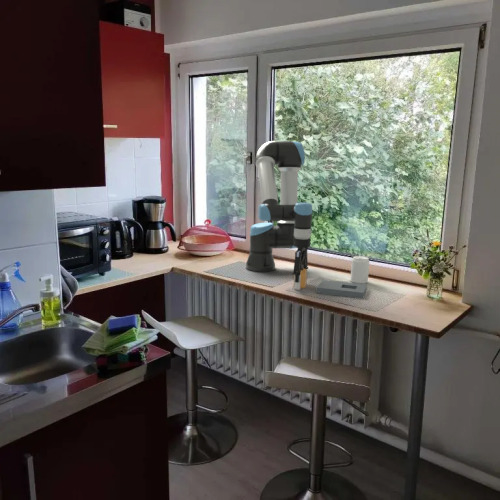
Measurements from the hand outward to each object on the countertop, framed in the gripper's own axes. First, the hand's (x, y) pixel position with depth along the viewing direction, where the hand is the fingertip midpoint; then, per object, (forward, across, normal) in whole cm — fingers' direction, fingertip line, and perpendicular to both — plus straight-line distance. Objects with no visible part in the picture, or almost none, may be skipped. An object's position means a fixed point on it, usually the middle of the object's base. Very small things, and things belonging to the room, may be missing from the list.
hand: (299, 285), depth 226 cm
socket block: (0, 0, -19) cm, 19 cm away
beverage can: (0, +19, -24) cm, 31 cm away
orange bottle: (0, 0, 0) cm, 0 cm away
